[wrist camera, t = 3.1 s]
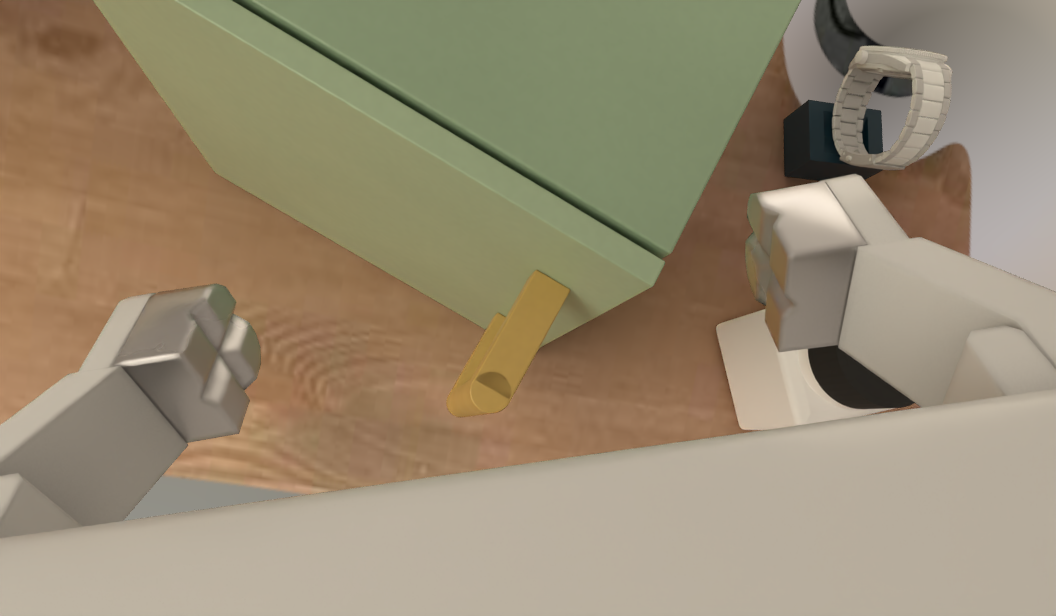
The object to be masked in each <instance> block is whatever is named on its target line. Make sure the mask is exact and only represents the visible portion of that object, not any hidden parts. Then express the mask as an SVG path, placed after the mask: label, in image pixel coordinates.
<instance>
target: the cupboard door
mask: <svg viewBox="0 0 1056 616" xmlns="http://www.w3.org/2000/svg"><path fill="white" fill-rule="evenodd" d="M93 1H94V3H95V4H96V5H97V7H98V8H99V10H100V11H101V12H102V14H103V15H104V17H105V18H106V19H107V21H108V22H109V24H110V25H111V27H112V28H113V29H114V31H115V32H116V34H117V35H118V36H119V38H120V39H121V41H122V42H123V43H124V45H125V46H126V48H127V49H128V51H129V52H130V53H131V55H132V56H133V58H134V59H135V60H136V62H137V63H138V65H139V66H140V67H141V69H142V70H143V72H144V73H145V75H146V76H147V77H148V79H149V80H150V82H151V83H152V84H153V86H154V87H155V89H156V90H157V92H158V93H159V94H160V96H161V97H162V99H163V100H164V101H165V103H166V104H167V106H168V107H169V108H170V110H171V111H172V113H173V114H174V116H175V117H176V118H177V120H178V121H179V123H180V124H181V125H182V127H183V128H184V130H185V131H186V132H187V134H188V135H189V137H190V138H191V140H192V141H193V142H194V144H195V145H196V147H197V148H198V149H199V151H200V152H201V154H202V155H203V156H204V158H205V159H206V161H207V162H208V164H209V165H210V166H211V168H212V169H213V171H214V172H215V173H216V174H218V175H220V176H221V177H223V178H225V179H227V180H228V181H230V182H232V183H233V184H235V185H237V186H239V187H240V188H242V189H244V190H246V191H247V192H249V193H251V194H252V195H254V196H256V197H258V198H259V199H261V200H263V201H265V202H266V203H268V204H270V205H271V206H273V207H275V208H277V209H278V210H280V211H282V212H283V213H285V214H287V215H289V216H290V217H292V218H294V219H296V220H297V221H299V222H301V223H302V224H304V225H306V226H308V227H309V228H311V229H313V230H315V231H316V232H318V233H320V234H321V235H323V236H325V237H327V238H328V239H330V240H332V241H334V242H335V243H337V244H339V245H340V246H342V247H344V248H346V249H347V250H349V251H351V252H352V253H354V254H356V255H358V256H359V257H361V258H363V259H365V260H366V261H368V262H370V263H371V264H373V265H375V266H377V267H378V268H380V269H382V270H384V271H385V272H387V273H389V274H390V275H392V276H394V277H396V278H397V279H399V280H401V281H403V282H404V283H406V284H408V285H409V286H411V287H413V288H415V289H416V290H418V291H420V292H421V293H423V294H425V295H427V296H428V297H430V298H432V299H434V300H435V301H437V302H439V303H440V304H442V305H444V306H446V307H447V308H449V309H451V310H453V311H454V312H456V313H458V314H459V315H461V316H463V317H465V318H466V319H468V320H470V321H472V322H473V323H475V324H477V325H478V326H480V327H482V328H484V329H485V332H484V334H483V336H482V337H481V339H480V341H479V343H478V344H477V346H476V348H475V350H474V351H473V353H472V355H471V357H470V358H469V360H468V362H467V364H466V365H465V367H464V369H463V371H462V372H461V374H460V376H459V378H458V379H457V381H456V383H455V385H454V386H453V388H452V390H451V392H450V393H449V395H448V397H447V408H448V410H449V412H450V413H451V414H452V415H454V416H456V417H469V416H476V415H484V414H491V413H497V412H500V411H501V410H503V409H504V408H505V407H507V405H508V404H509V402H510V400H511V399H512V397H513V395H514V393H515V391H516V390H517V388H518V386H519V384H520V382H521V380H522V379H523V377H524V375H525V373H526V371H527V369H528V368H529V366H530V364H531V362H532V360H533V358H534V357H535V355H536V353H537V351H538V349H539V348H540V347H542V346H544V345H546V344H548V343H550V342H551V341H553V340H555V339H557V338H559V337H561V336H562V335H564V334H566V333H568V332H570V331H572V330H574V329H575V328H577V327H579V326H581V325H583V324H585V323H586V322H588V321H590V320H592V319H594V318H596V317H597V316H599V315H601V314H603V313H605V312H607V311H609V310H610V309H612V308H614V307H616V306H618V305H620V304H621V303H623V302H625V301H627V300H629V299H631V298H632V297H634V296H636V295H638V294H640V293H642V292H644V291H645V290H647V289H649V288H651V287H653V286H654V284H655V282H656V280H657V278H658V276H659V274H660V272H661V270H662V268H663V266H664V265H665V261H663V260H662V259H660V258H658V257H657V256H655V255H653V254H652V253H650V252H648V251H647V250H645V249H643V248H642V247H640V246H638V245H637V244H635V243H634V242H632V241H630V240H629V239H627V238H625V237H624V236H622V235H620V234H619V233H617V232H615V231H614V230H612V229H610V228H609V227H607V226H605V225H604V224H602V223H600V222H599V221H597V220H595V219H594V218H592V217H590V216H589V215H587V214H585V213H584V212H582V211H580V210H579V209H577V208H575V207H574V206H572V205H571V204H569V203H567V202H566V201H564V200H562V199H561V198H559V197H557V196H556V195H554V194H552V193H551V192H549V191H547V190H546V189H544V188H542V187H541V186H539V185H537V184H536V183H534V182H532V181H531V180H529V179H527V178H526V177H524V176H522V175H521V174H519V173H517V172H516V171H514V170H512V169H511V168H509V167H508V166H506V165H504V164H503V163H501V162H499V161H498V160H496V159H494V158H493V157H491V156H489V155H488V154H486V153H484V152H483V151H481V150H479V149H478V148H476V147H474V146H473V145H471V144H469V143H468V142H466V141H464V140H463V139H461V138H459V137H458V136H456V135H454V134H453V133H451V132H449V131H448V130H446V129H445V128H443V127H441V126H440V125H438V124H436V123H435V122H433V121H431V120H430V119H428V118H426V117H425V116H423V115H421V114H420V113H418V112H416V111H415V110H413V109H411V108H410V107H408V106H406V105H405V104H403V103H401V102H400V101H398V100H396V99H395V98H393V97H391V96H390V95H388V94H386V93H385V92H383V91H382V90H380V89H378V88H377V87H375V86H373V85H372V84H370V83H368V82H367V81H365V80H363V79H362V78H360V77H358V76H357V75H355V74H353V73H352V72H350V71H348V70H347V69H345V68H343V67H342V66H340V65H338V64H337V63H335V62H333V61H332V60H330V59H328V58H327V57H325V56H323V55H322V54H320V53H319V52H317V51H315V50H314V49H312V48H310V47H309V46H307V45H305V44H304V43H302V42H300V41H299V40H297V39H295V38H294V37H292V36H290V35H289V34H287V33H285V32H284V31H282V30H280V29H279V28H277V27H275V26H274V25H272V24H270V23H269V22H267V21H265V20H264V19H262V18H260V17H259V16H257V15H256V14H254V13H252V12H251V11H249V10H247V9H246V8H244V7H242V6H241V5H239V4H237V3H236V2H234V1H232V0H93Z"/></svg>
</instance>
